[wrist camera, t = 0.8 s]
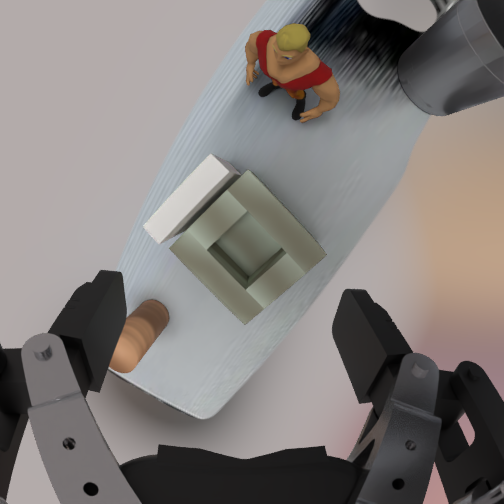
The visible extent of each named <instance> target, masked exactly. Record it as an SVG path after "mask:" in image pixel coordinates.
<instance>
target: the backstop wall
mask: <svg viewBox="0 0 504 504" xmlns="http://www.w3.org/2000/svg"><path fill="white" fill-rule="evenodd" d="M241 176H242V175H241V174H240V173H239V172H238V171H237V170H236V169H235V168H234V167H233V166H232V165H231V164H230V163H229V162H227V161H225V160H223V159H221V158H219V157H217V156H215V155H213V154H210V155H209V156H208V157H207V158H206V159H205V160H204V161H203V162H202V163H201V164H200V165H199V166H198V167H197V168H196V169H195V170H194V171H193V172H192V173H191V174H190V175H189V176H188V177H187V178H186V179H185V181H184V182H183V183H182V184H181V185H180V186H179V187H178V188H177V189H176V190H175V191H174V192H173V193H172V194H171V195H170V197H169V198H168V199H167V200H166V201H165V202H164V203H163V204H162V205H161V207H160V208H159V209H158V210H157V211H156V212H155V213H154V214H153V216H152V217H151V218H150V219H149V220H148V221H147V222H146V224H145V225H144V226H143V228H144V229H145V230H146V231H147V232H148V233H149V234H150V235H151V236H152V237H153V238H154V239H155V241H156V242H157V243H158V244H161V243H163V242H165V241H167V240H168V239H170V238H172V237H174V236H176V235H178V234H180V233H182V232H184V231H185V230H187V229H188V228H189V227H190V226H191V225H192V224H193V223H194V222H195V221H196V220H197V219H198V218H199V217H200V216H201V215H202V214H203V213H204V212H205V211H206V210H207V209H208V208H209V207H210V206H211V205H212V204H213V203H214V202H215V201H216V200H217V199H218V198H219V197H220V196H221V195H222V194H223V193H224V192H225V191H226V190H227V189H228V188H229V187H230V186H231V185H232V184H233V183H235V182H236V181H237V180H238V179H239V178H240V177H241Z"/></svg>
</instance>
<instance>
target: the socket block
mask: <svg viewBox="0 0 504 504" xmlns="http://www.w3.org/2000/svg"><path fill="white" fill-rule="evenodd" d="M169 249H170V250H171V251H172V252H173V253H174V254H175V255H176V256H177V257H178V259H179V260H180V261H181V262H182V263H183V264H184V265H185V266H186V267H187V268H188V269H189V270H190V271H191V272H192V273H193V274H194V275H195V276H196V277H197V278H198V279H199V280H200V281H201V282H202V283H203V284H204V285H205V286H206V287H207V288H208V289H209V290H210V291H211V292H212V293H213V294H214V295H215V296H216V297H217V298H218V299H219V300H220V301H221V302H222V303H223V304H224V305H225V306H226V307H227V308H228V309H229V310H230V311H231V312H232V313H233V314H234V315H235V316H236V317H237V318H238V319H239V320H240V321H241V322H242V323H243V324H244V325H245V324H247V323H248V322H249V321H250V320H252V319H253V318H254V317H255V316H256V315H258V314H259V313H260V312H261V311H262V310H264V309H265V308H266V307H267V306H268V305H270V304H271V303H272V302H273V301H274V300H276V299H277V298H278V297H279V296H280V295H281V294H283V293H284V292H285V291H286V290H287V289H288V288H290V287H291V286H292V285H293V284H294V283H295V282H297V281H298V280H299V279H300V278H301V277H302V276H303V275H305V274H306V273H307V272H308V271H309V270H310V269H311V268H313V267H314V266H315V265H316V264H317V263H318V262H319V261H321V260H322V259H323V258H324V257H325V256H326V255H327V254H326V253H325V251H324V250H323V249H322V247H321V246H320V245H319V243H318V242H317V241H316V240H315V239H314V238H313V237H312V236H311V234H310V233H309V232H308V231H307V230H306V229H305V228H304V227H303V226H302V224H301V223H300V222H299V221H298V220H297V219H296V218H295V217H294V216H293V215H292V214H291V212H290V211H289V210H288V209H287V208H286V207H285V206H284V205H283V204H282V203H281V202H280V201H279V200H278V198H277V197H276V196H275V195H274V194H273V193H272V192H271V191H270V190H269V189H268V188H267V187H266V186H265V185H264V184H263V183H262V182H261V181H260V179H259V178H258V177H257V176H256V175H255V174H254V173H253V172H251V171H250V170H247V171H246V172H245V173H244V174H243V175H242V176H241V177H240V178H239V179H238V180H237V181H236V182H235V183H233V184H232V185H231V186H230V187H229V188H228V189H227V190H226V191H225V192H224V193H223V194H222V195H221V196H220V197H219V198H218V199H217V200H216V201H215V202H214V203H213V204H212V205H211V206H210V207H209V208H208V209H207V210H206V211H205V212H204V213H203V214H202V215H201V216H200V217H199V218H198V219H197V220H196V221H195V222H194V223H193V224H192V225H191V226H190V227H189V228H188V229H187V230H186V231H185V232H184V233H183V234H182V235H181V236H180V237H179V238H178V240H177V241H176V242H175V243H174V244H173V245H172V246H171V247H170V248H169Z"/></svg>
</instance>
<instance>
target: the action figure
mask: <svg viewBox="0 0 504 504" xmlns="http://www.w3.org/2000/svg"><path fill="white" fill-rule="evenodd" d="M309 39H310V33H309V32H308V30H307V28H306V27H305V26H304V25H301V24H295V23H293V24H289V25H286V26H284V27H283V28H282V29H280V30H279V32H278V33H275V32H273V31H271V30H264V31H257V32H255V33H253V34H250V37H249V40H248V42H247V43H246V46H245V52H246V58H247V62H248V64H247V67H246V73H247V76H246V83H247V85H248V86H249V85H250V82H253V77H254V78H257V76H256V75H255V74H253V72H254V73H256V74H257V75H259V73H258V72H257V71H255V70H254V67H255V64H256V63H255V62H256V61H257V59H259V64H260V68H261V70H262V71H263V73H264V74H265V75H267V76H268V77H269V78H271V79H272V82H271V83H269V84H267V85H265V86H263V87H262V88H261V89H260V90H259V92H258V93H259V95H260V96H261V97H263V96H267V95H268V94H269V93H270V92H271V91H273V90H274V89H277V88H280V87H281V88H284V89H286V91H287V92H288V94H289V95H290V96H291V97H292V98H295V99H297V100H296V106H295V108H294V110H293V112H292V119H294V120H298V119H300V118H301V117H304V119H301V120H300V122H301V123H303V122H306V121H308V120H309V119H313V118H317V117H319V116H321V115H322V113H323V112H325V111H329V110H331V109H333V108H334V107H335V106H336V104H337V103H338V101H339V95H340V90H339V86H338V84H337V82H336V80H335V78H334V75H333V73H332V69H331V68H329V67H328V66H327V65H325V64H324V63H323V62H322V61H321V60H320V59H319V58H318V57H317V55H315V54H314V53H313V52H312V51H311V50H310V48H308V47H307V44H308V41H309ZM311 87H312V89H313V90H314V92H315V93H316V94H317V95H318V96H320V101H319V105H318V107H315V108H313V109H311V110H309V111H307V112H304V107H305V98H306V93H305V91H304V90H305V89H308V88H311Z"/></svg>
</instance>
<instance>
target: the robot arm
mask: <svg viewBox="0 0 504 504" xmlns="http://www.w3.org/2000/svg"><path fill="white" fill-rule="evenodd" d="M398 75H399V79H400V82H401V85H402V87H403V89H404V91H405V93H406V94H407V95H408V97H409V98H410V99H411V100H412V101H413V102H414V103H415V104H416V105H417V106H418V107H419V108H421V109H422V110H423V111H425V112H427V113H429V114H432V115H436V116H446V115H449V114H452V113H455V112H458V111H461V110H464V109H467V108H470V107H473V106H476V105H479V104H482V103H485V102H488V101H491V100H494V99H497V98H500V97H503V96H504V0H459V1H458V2H457V3H456V4H455V5H453V6H452V7H451V8H450V9H449V10H448V11H447V12H446V13H445V14H444V15H443V16H442V17H440V18H439V19H438V20H437V21H436V22H435V23H434V24H433V25H432V26H431V27H430V28H429V29H428V30H427V31H426V32H425V33H424V34H422V35H421V36H420V37H419V38H418V39H417V40H416V41H415V42H414V43H413V44H412V45H411V46H410V47H409V48H408V49H407V50H406V51H405V52H404V53H403V54H402V55H401V57H400V59H399V62H398ZM126 315H127V308H126V300H125V292H124V283H123V276H122V273H121V272H117V271H108V270H107V271H106V270H101V271H99V273H98V274H97V276H96V277H95V279H94V280H93V281H92V283H91V282H86V283H85V284H83V285H82V286H80V287H79V288H78V289H76V291H75V292H74V293H73V295H72V296H71V298H70V300H69V301H68V302H67V304H66V305H65V308H63V310H62V311H61V313H60V314H59V316H58V317H57V319H56V320H55V322H54V323H53V325H52V326H51V328H50V330H49V331H48V333H42V334H38V335H35V336H33V337H31V338H30V339H29V340H27V341H26V343H25V344H24V345H23V347H22V348H17V349H3V348H2V346H1V344H0V504H7V502H6V498H7V493H8V488H9V484H10V480H11V475H12V471H13V467H14V464H15V460H16V457H17V453H18V450H19V446H20V443H21V440H22V437H23V433H24V430H25V428H26V425H27V422H28V419H30V422H31V427H32V430H33V433H34V437H35V440H36V443H37V446H38V449H39V452H40V455H41V458H42V460H43V463H44V466H45V468H46V471H47V473H48V476H49V478H50V481H51V483H52V486H53V488H54V490H55V493H56V495H57V497H58V499H59V501H60V503H61V504H423V501H424V498H425V494H426V491H427V488H428V484H429V480H430V476H431V473H432V469H433V464H434V462H435V464H436V467H437V470H438V473H439V475H440V478H441V481H442V484H443V487H444V490H445V493H446V496H447V499H448V502H449V504H504V402H503V400H502V398H501V397H500V395H499V393H498V392H497V390H496V389H495V387H494V385H493V384H492V382H491V380H490V379H489V377H488V376H487V374H486V373H485V371H484V370H483V369H482V368H481V367H480V366H479V365H477V364H476V363H473V362H470V361H463V362H461V363H460V364H459V365H458V367H457V368H456V370H455V371H454V372H451V371H443V370H439V369H438V367H437V365H436V364H435V362H434V361H433V360H431V359H430V358H429V357H427V356H425V355H423V354H419V353H413V351H412V350H411V348H410V347H409V345H408V343H407V342H406V340H405V339H404V337H403V336H402V334H401V332H400V331H399V329H397V327H396V325H395V323H394V322H392V319H391V317H390V316H389V315H388V313H387V311H386V310H385V309H383V308H382V307H381V306H380V305H378V304H377V303H374V301H373V300H372V299H371V297H370V295H369V294H368V293H367V291H366V290H362V289H346V290H345V291H344V292H343V294H342V297H341V300H340V303H339V306H338V309H337V312H336V315H335V318H334V321H333V325H332V334H333V338H334V341H335V343H336V346H337V348H338V350H339V353H340V355H341V358H342V361H343V363H344V366H345V368H346V370H347V373H348V375H349V378H350V381H351V383H352V386H353V389H354V391H355V394H356V396H357V399H358V401H359V404H361V403H369V402H372V404H373V408H372V409H371V411H370V412H369V415H368V417H367V420H366V422H365V424H364V427H363V429H362V431H361V434H360V436H359V438H358V440H357V442H356V444H355V447H354V449H353V451H352V452H351V454H350V455H349V457H348V458H347V460H344V459H340V458H336V457H332V456H327V454H326V450H325V446H318V447H308V448H296V449H285V450H282V451H278V452H274V453H271V454H267V455H263V456H259V457H255V458H250V459H239V458H234V457H230V456H226V455H222V454H218V453H214V452H211V451H207V450H203V449H198V448H186V447H176V446H168V445H167V446H166V445H159V446H158V454H157V455H149V456H143V457H139V458H136V459H133V460H130V461H128V462H126V463H124V464H122V465H119V463H118V462H117V460H116V458H115V457H114V455H113V453H112V452H111V450H110V448H109V446H108V444H107V442H106V440H105V439H104V437H103V435H102V433H101V431H100V429H99V427H98V425H97V423H96V421H95V419H94V416H93V414H92V412H91V410H90V408H89V406H88V403H87V401H86V399H85V398H86V395H87V392H88V390H90V391H95V392H100V390H101V386H102V384H103V381H104V378H105V375H106V373H107V370H108V367H109V364H110V362H111V359H112V356H113V354H114V351H115V348H116V346H117V343H118V340H119V338H120V335H121V333H122V330H123V328H124V325H125V322H126ZM464 413H466V415H467V417H468V418H469V421H470V422H471V424H472V427H473V429H474V431H475V439H474V441H473V443H472V444H471V445H470V446H469V445H468V442H467V440H466V438H465V436H464V434H463V431H462V429H461V427H460V425H459V423H458V420H459V419H460V418H461V416H462V415H463V414H464Z"/></svg>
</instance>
